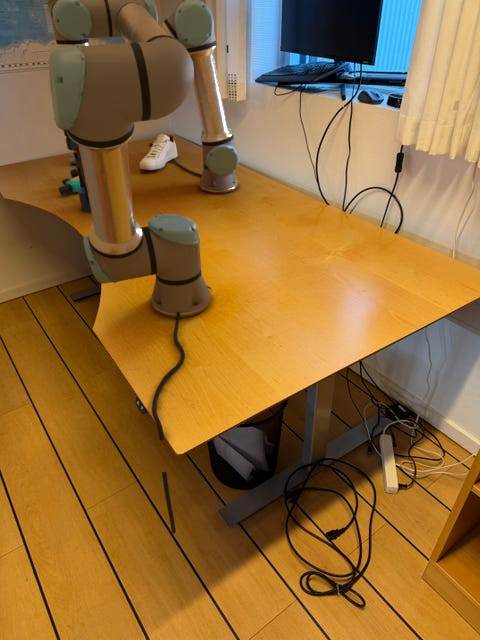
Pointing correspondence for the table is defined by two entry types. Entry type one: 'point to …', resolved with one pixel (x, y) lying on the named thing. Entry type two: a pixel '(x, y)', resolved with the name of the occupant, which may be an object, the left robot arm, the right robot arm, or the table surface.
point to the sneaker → (160, 153)
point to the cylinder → (84, 200)
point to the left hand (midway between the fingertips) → (93, 152)
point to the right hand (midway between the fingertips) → (88, 196)
